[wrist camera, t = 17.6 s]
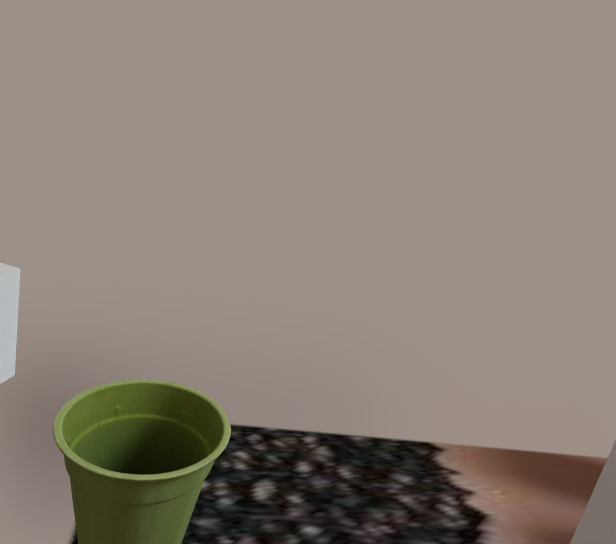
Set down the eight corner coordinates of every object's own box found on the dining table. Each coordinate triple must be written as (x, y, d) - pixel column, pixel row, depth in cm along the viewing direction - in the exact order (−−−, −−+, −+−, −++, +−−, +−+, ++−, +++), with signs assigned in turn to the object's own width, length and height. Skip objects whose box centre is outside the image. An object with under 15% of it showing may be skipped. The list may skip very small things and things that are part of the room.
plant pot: (182, 481, 48) (201, 372, 45) (228, 590, 39) (256, 462, 36) (36, 506, 42) (46, 382, 39) (48, 644, 33) (62, 494, 29)
